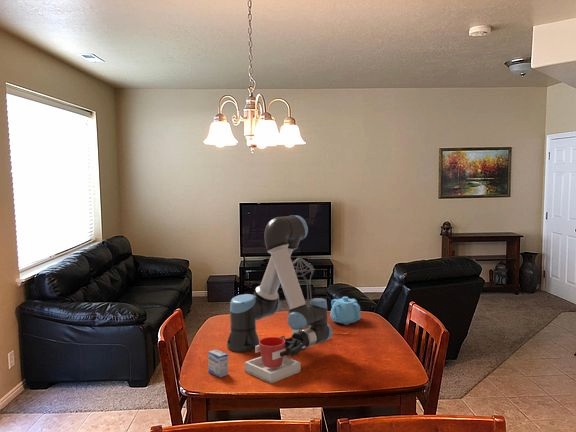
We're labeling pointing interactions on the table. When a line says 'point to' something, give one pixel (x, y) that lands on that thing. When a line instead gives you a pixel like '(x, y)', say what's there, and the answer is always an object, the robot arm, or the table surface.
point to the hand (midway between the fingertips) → (264, 352)
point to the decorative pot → (345, 310)
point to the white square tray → (272, 369)
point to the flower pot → (271, 351)
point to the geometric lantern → (304, 274)
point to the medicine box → (218, 363)
